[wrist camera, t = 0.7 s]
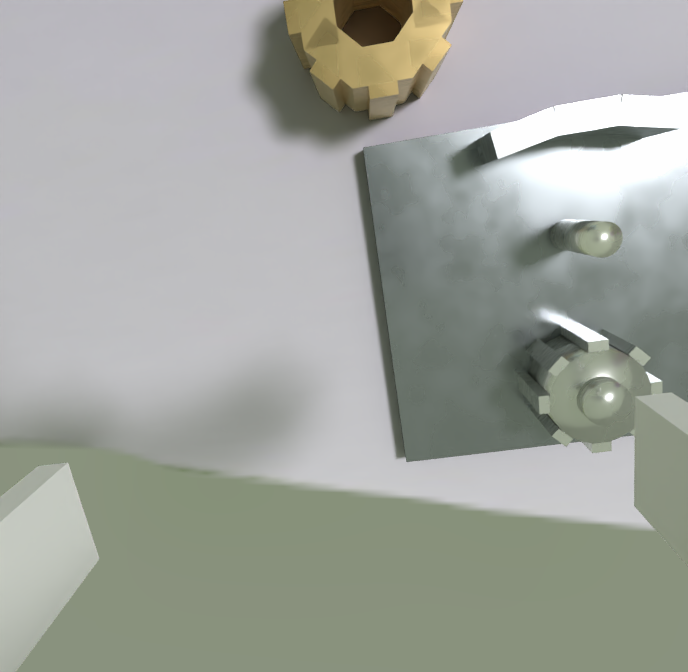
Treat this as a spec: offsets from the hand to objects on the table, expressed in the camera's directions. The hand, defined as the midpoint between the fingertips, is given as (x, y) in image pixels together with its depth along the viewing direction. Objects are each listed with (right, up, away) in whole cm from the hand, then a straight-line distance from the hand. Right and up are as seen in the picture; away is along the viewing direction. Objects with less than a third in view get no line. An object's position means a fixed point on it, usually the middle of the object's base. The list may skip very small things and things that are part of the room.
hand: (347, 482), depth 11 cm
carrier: (+13, +6, +20) cm, 25 cm away
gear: (+1, +20, +17) cm, 27 cm away
